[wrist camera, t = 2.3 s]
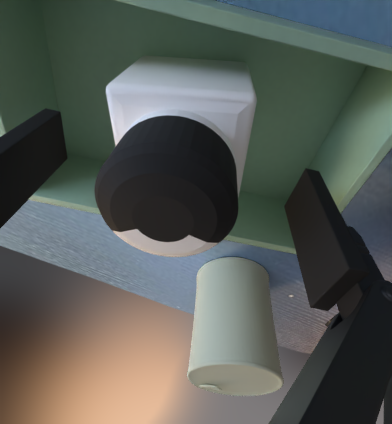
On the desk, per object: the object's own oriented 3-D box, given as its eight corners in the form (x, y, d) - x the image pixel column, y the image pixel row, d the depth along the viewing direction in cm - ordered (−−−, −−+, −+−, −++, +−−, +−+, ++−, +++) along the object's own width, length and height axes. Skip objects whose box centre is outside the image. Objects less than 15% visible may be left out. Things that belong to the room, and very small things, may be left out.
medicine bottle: (141, 53, 17) (45, 127, 8) (248, 61, 17) (274, 145, 8) (149, 151, 22) (94, 266, 13) (233, 158, 21) (238, 281, 12)
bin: (61, 155, 23) (18, 198, 18) (25, -50, 14) (-72, -68, 10) (291, 204, 25) (307, 257, 20) (385, 45, 16) (453, 70, 11)
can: (182, 273, 33) (165, 379, 24) (241, 245, 29) (248, 362, 20) (225, 305, 38) (224, 405, 29) (282, 284, 33) (303, 396, 24)
